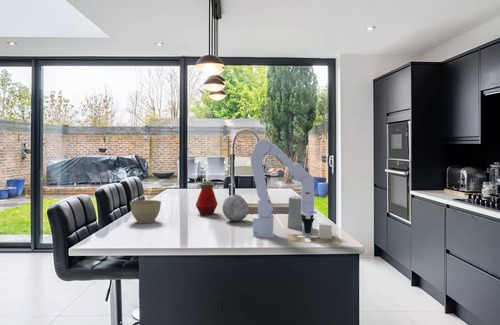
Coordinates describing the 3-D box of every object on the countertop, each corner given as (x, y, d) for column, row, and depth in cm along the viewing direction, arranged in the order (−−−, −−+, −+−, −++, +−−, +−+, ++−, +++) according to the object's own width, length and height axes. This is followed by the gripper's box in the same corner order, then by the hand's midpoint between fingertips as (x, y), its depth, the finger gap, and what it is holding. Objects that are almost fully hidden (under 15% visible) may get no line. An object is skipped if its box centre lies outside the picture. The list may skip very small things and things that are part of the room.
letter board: (286, 242, 153) (286, 241, 153) (287, 234, 167) (287, 233, 167) (342, 244, 150) (342, 243, 150) (337, 236, 164) (337, 235, 164)
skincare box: (290, 225, 187) (291, 195, 187) (304, 226, 185) (304, 195, 184) (287, 228, 179) (287, 197, 179) (301, 229, 177) (301, 198, 176)
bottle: (194, 212, 225) (194, 180, 225) (215, 211, 229) (215, 180, 228) (196, 216, 210) (196, 182, 209) (219, 215, 213) (219, 182, 213)
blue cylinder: (302, 235, 159) (302, 224, 159) (301, 233, 164) (301, 222, 164) (312, 235, 159) (312, 224, 159) (311, 233, 164) (311, 222, 163)
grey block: (319, 238, 158) (320, 224, 158) (319, 235, 163) (319, 222, 163) (331, 238, 158) (331, 225, 158) (330, 236, 163) (330, 222, 163)
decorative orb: (253, 222, 194) (253, 195, 194) (228, 224, 188) (228, 196, 188) (241, 217, 208) (241, 192, 207) (218, 219, 201) (218, 193, 201)
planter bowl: (157, 218, 206) (157, 199, 205) (163, 223, 191) (163, 203, 191) (128, 220, 199) (128, 200, 198) (132, 226, 184) (132, 205, 184)
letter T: (297, 241, 153) (297, 241, 153) (297, 235, 163) (297, 235, 163) (318, 242, 152) (318, 242, 152) (317, 236, 162) (317, 236, 162)
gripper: (317, 204, 153) (317, 236, 154) (315, 199, 168) (315, 228, 168) (301, 204, 154) (300, 235, 155) (300, 199, 169) (300, 228, 169)
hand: (307, 231), depth 161 cm, fingers closed on blue cylinder, 4 cm apart
